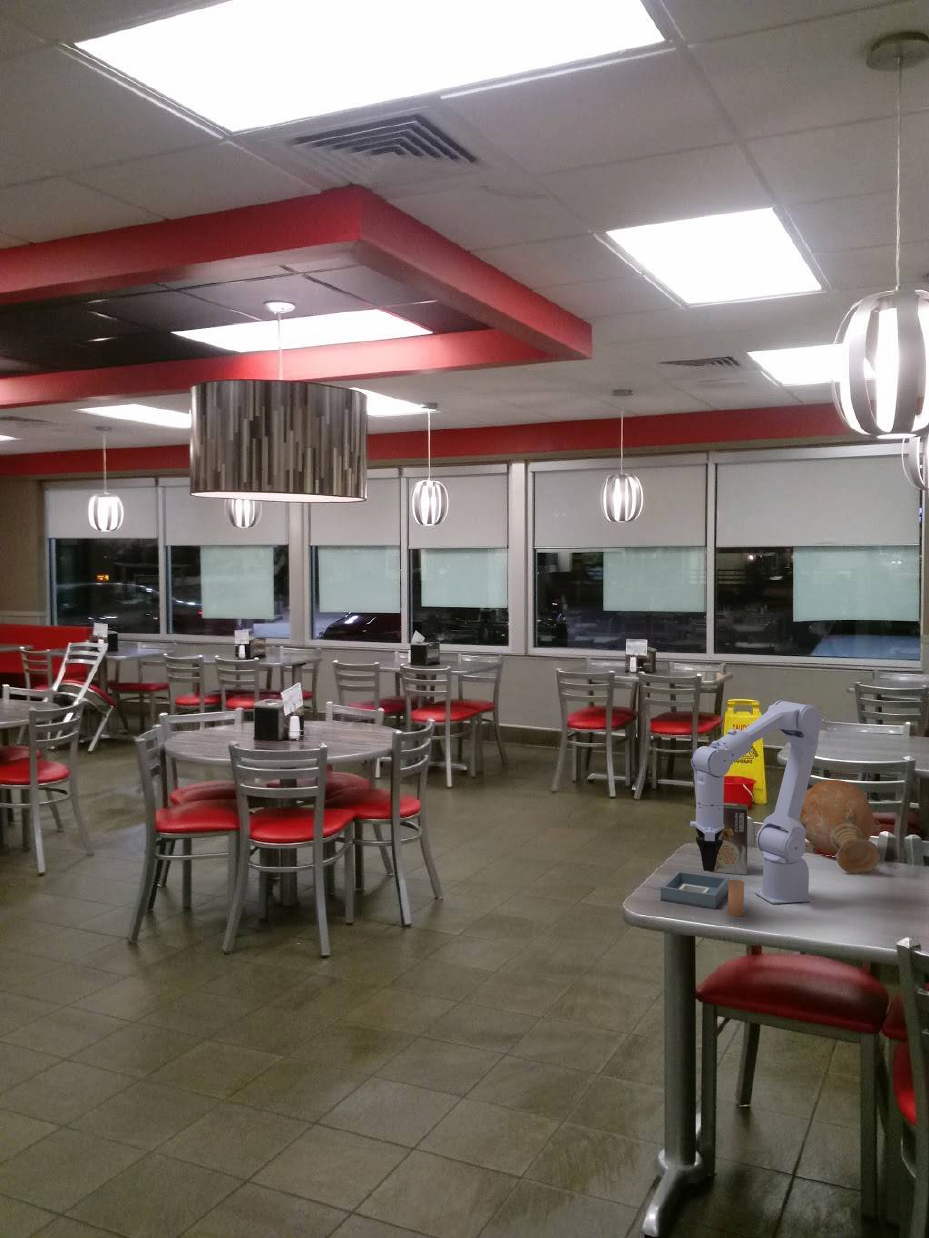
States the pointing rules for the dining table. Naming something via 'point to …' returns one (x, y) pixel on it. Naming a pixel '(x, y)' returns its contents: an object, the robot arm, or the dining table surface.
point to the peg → (735, 898)
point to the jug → (841, 824)
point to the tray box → (695, 889)
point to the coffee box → (733, 840)
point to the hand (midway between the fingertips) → (708, 865)
